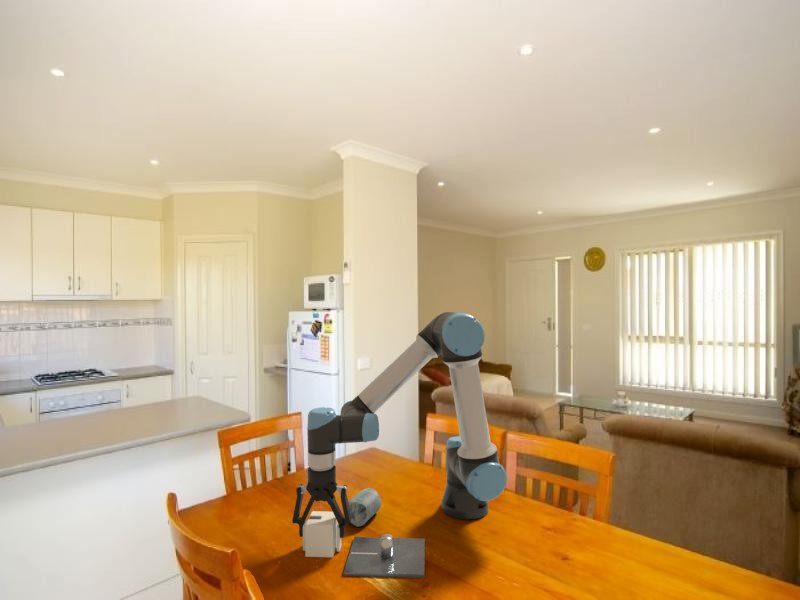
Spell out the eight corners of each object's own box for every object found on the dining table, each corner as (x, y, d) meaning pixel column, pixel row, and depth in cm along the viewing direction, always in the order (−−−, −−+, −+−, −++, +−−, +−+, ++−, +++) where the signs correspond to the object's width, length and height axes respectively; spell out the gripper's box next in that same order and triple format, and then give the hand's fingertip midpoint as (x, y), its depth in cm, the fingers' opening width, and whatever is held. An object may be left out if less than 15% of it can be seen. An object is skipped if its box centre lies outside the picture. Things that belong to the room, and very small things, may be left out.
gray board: (424, 541, 122) (424, 522, 122) (424, 577, 106) (424, 556, 106) (354, 539, 124) (354, 521, 124) (343, 575, 108) (343, 554, 108)
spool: (367, 523, 126) (358, 488, 130) (342, 532, 130) (335, 497, 134) (392, 515, 137) (383, 482, 141) (369, 523, 141) (361, 491, 145)
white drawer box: (338, 541, 123) (338, 510, 123) (332, 557, 115) (332, 523, 115) (312, 541, 123) (312, 509, 123) (305, 556, 116) (305, 523, 116)
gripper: (362, 461, 122) (362, 541, 122) (287, 460, 123) (288, 539, 124) (358, 472, 115) (358, 557, 115) (278, 470, 116) (279, 555, 116)
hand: (322, 548), depth 119 cm, fingers open, 9 cm apart
